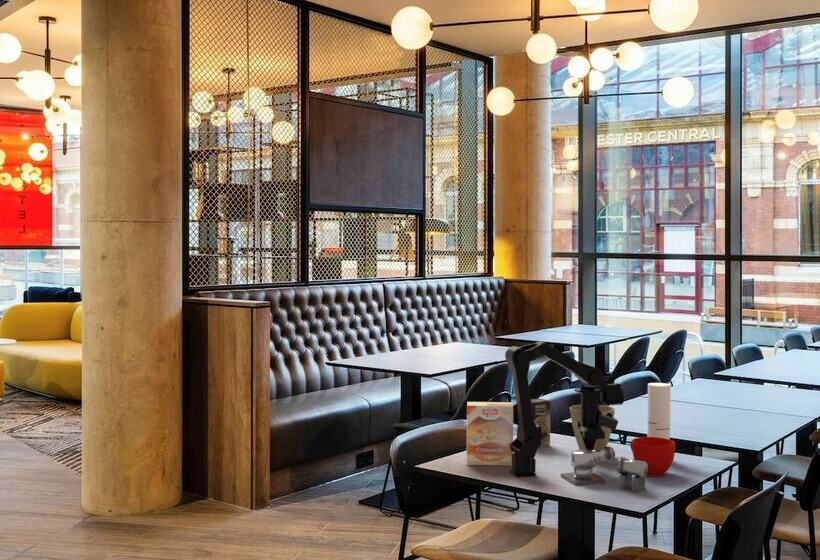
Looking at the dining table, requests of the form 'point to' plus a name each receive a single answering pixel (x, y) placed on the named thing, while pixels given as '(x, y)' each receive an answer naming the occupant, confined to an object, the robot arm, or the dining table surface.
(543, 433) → the coffee box
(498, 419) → the coffeecake box
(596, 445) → the plant pot
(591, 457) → the elbow
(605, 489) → the dining table surface
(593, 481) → the flange plate
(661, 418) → the cylindrical container
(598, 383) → the robot arm
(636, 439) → the red bowl
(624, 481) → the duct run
